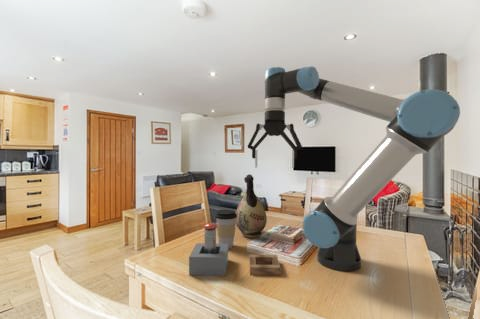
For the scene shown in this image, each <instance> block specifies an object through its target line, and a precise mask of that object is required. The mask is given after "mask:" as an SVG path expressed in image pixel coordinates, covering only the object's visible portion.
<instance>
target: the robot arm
mask: <svg viewBox="0 0 480 319" xmlns="http://www.w3.org/2000/svg"><path fill="white" fill-rule="evenodd" d="M264 75H265V78H264V110H265V111H264V123H263V124H261V123H257V124H256V127H255V131H254V133H253V135H252V137H251V138H250V141H249V143H248V144H247V148H248V149H250V150H251V158H252V159H254V167H255V169H257V168H258V149H257V148H258V147H259V145H260V144H261V143H262V142H263V141H264V139H265V138H266V137H267V136H270V137H274V136H275V137H279V136H280V137H281V138H283V139H284V141H285V142H286V143H287V144H288V145H289V147H290V148H291V149H292V150H290V168H292V169H294V168H295V160H296V159H297V158H298V157H297V156H298V150H300V149H302V148H303V145H302V143H301V142H300V139H299V138H298V135H297V133H296V131H295V128H294V127H295V126H294V124H293V123H290V124H286V121H285V119H286V112H285V110H286V103H285V102H286V95H287V94H291V93H300V94H303V95H304V96H307V97H309V98H310V99H313V100H318V101H321V102H322V101H323V102H325V103H328V104H332V105H335V106H338V107H339V108H344V109H347V110H351V111H354V112H357V113H360V114H364V115H367V116H370V117H372V118H376V119H378V120H382V121H386V122H389V124H387V126H386V127H385V131H386V135H385V137H383V139H382V140H381V141H380V142H379V143H378V144H377V145H376V147H375V148H374V149H373V150H372V151H371V153H370V154H369V155H368V156H367V157H366V158H365V159H364V161H363V162H361V163H360V165H359V166H358V167H357V168H356V170H355V171H354V172H352V174H351V176H350V177H349V178H348V179H346V181H345V182H344V183H343V184H342V186H341V187H340V188H339V189H338V190H337V192H335V194H334V195H332V196H326V197H324V198H323V199H322V201H321V202H320V203H319V205H318V206H317V207H316V208H314V210H312V211H310V212H308V213H307V214H306V215H305V216H304V217H303V220H302V230H303V234H304V236H305V238H306V239H307V240H308V241H309V243H311V244H312V245H313V246H315V247H317V248H318V250H317V252H316V256H317V257H316V258H317V261H318V262H319V264H321V265H322V266H325V267H326V268H328V269H332V270H336V271H343V272H354V271H357V270H359V269H361V267H362V258H361V254H360V252H359V249H358V245H357V229H358V228H357V223H358V221H357V220H358V217H357V216H358V215H359V213H360V212H361V211H362V210H363V209H364V208H366V207H367V205H368V204H369V203H370V202H372V200H373V199H375V197H376V196H377V195H378V194H379V193H380V192H381V191H382V190H383V189H384V188H385V187H386V186H387V185H388V184H389V183H390V182H391V181H392V180H393V179H394V178H395V177H396V176H397V175H398V174H399V172H400V171H402V170H403V168H404V167H405V166H407V165H408V164H409V162H411V160H412V159H413V158H414V157H415V156H417V155H420V154H421V155H422V154H427V153H428V152H429V151H430V150H431V149H432V148H433V147H434V146H435V145H436V144H437V143H438V142H440V141H441V139H442V138H443V137H444V136H447V135H448V134H449V133H450V132H451V131H452V130H453V129H454V128H455V126H456V124H457V122H458V121H459V118H460V114H461V109H460V105H459V103H458V101H457V100H456V99H455V97H453V96H452V95H451V94H450V93H449V92H447V91H443V90H441V89H433V88H432V89H429V88H428V89H423V90H420V91H416V92H414V93H413V94H410V95H409V96H408V97H406V98H404V99H402V98H398V97H393V96H389V95H387V94H382V93H377V92H373V91H370V90H366V89H363V88H359V87H355V86H351V85H347V84H343V83H339V82H334V81H332V80H331V81H330V80H327V79H323V78H320V76H319V72H318V70H317V68H316V67H315V66H304V67H301V68H297V69H293V70H289V71H286V69H285V68H284V67H279V66H276V67H275V66H274V67H270V68H268V69H266V70H265V74H264ZM263 129H264V131H265V132H264V134H262V136H261V137H260V138H259V140H258V141H256V143H254V141H255V140H256V137H257V135H258V133H259V131H261V130H263ZM286 129H287V130H288V131H289V134H290V135H291V137H292V140H293V141H294V142H293V141H292V140H291V139H290V137H289V136H288V135H287V133H286V132H285V130H286ZM253 143H254V145H253Z"/></svg>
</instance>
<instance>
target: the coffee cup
mask: <svg viewBox="0 0 480 319" xmlns="http://www.w3.org/2000/svg"><path fill="white" fill-rule="evenodd" d="M214 217H215V218H216V222H215V223H216V224H217V228H216V235H217V239H218V244H228V250H230V249H232V248H233V247H234V239H235V234H236V227H237V226H236V217H237V214H236V211H235V210H233V209H219V210H217V211H216V213H215V214H214Z"/></svg>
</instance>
